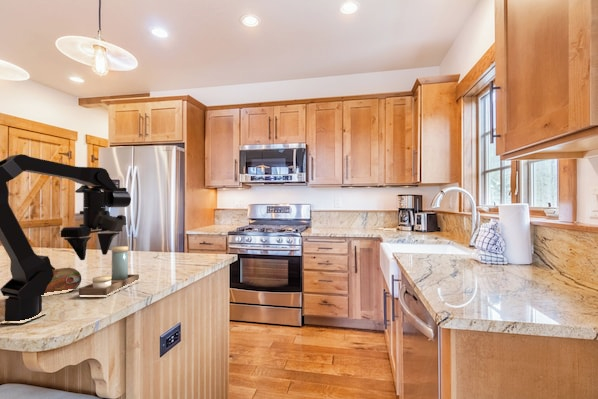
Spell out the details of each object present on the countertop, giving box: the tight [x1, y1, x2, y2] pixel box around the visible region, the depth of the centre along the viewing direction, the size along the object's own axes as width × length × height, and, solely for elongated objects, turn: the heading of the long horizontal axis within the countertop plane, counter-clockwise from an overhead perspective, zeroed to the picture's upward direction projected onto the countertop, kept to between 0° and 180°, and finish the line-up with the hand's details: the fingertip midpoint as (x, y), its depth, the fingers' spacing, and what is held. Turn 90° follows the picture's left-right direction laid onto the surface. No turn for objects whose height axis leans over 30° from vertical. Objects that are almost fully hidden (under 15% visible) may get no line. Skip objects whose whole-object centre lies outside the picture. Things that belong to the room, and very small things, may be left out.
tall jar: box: [111, 245, 129, 280], centre depth 101 cm, size 5×5×14 cm
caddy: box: [78, 273, 140, 296], centre depth 97 cm, size 18×9×3 cm, turn 179°
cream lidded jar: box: [92, 274, 112, 288], centre depth 93 cm, size 5×5×5 cm
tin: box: [45, 267, 82, 293], centre depth 92 cm, size 15×3×8 cm, turn 129°
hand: (94, 257), depth 88 cm, fingers open, 9 cm apart
